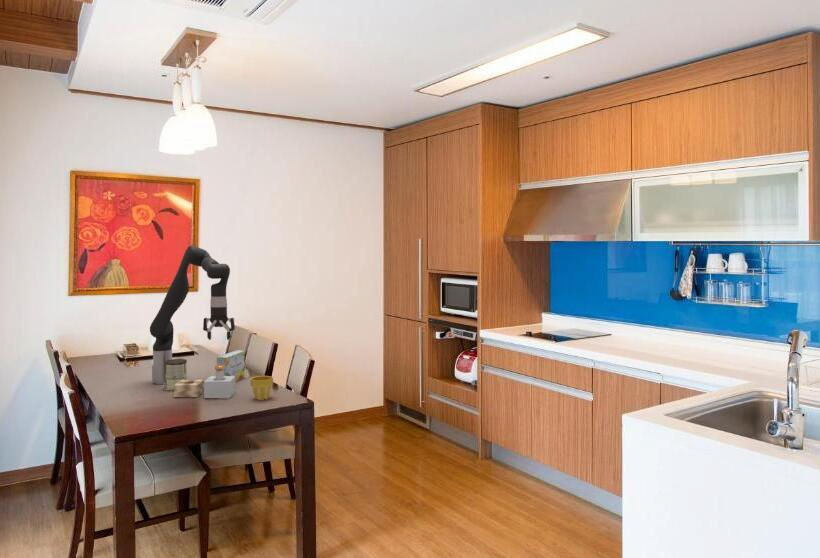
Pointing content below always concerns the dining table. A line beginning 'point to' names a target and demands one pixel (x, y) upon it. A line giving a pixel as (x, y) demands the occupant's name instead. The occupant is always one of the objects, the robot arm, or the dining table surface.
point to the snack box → (233, 364)
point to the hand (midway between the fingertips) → (219, 339)
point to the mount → (189, 388)
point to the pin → (219, 372)
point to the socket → (219, 387)
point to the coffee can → (175, 372)
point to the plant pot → (261, 386)
